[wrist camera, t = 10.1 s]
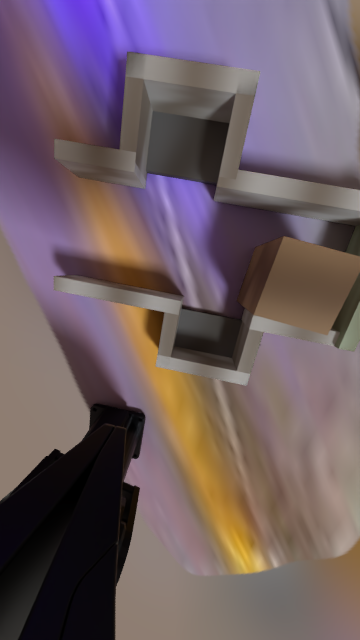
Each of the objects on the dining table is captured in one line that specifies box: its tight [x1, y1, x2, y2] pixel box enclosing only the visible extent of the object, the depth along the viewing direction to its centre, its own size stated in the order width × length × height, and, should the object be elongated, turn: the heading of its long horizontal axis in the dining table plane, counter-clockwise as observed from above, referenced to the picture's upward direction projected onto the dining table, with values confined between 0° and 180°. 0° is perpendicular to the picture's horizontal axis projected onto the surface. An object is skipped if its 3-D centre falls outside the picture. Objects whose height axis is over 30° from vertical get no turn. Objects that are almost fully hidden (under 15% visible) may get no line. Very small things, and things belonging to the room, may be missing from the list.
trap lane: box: [54, 52, 360, 386], centre depth 16 cm, size 25×21×4 cm
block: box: [237, 236, 360, 335], centre depth 15 cm, size 5×5×6 cm
